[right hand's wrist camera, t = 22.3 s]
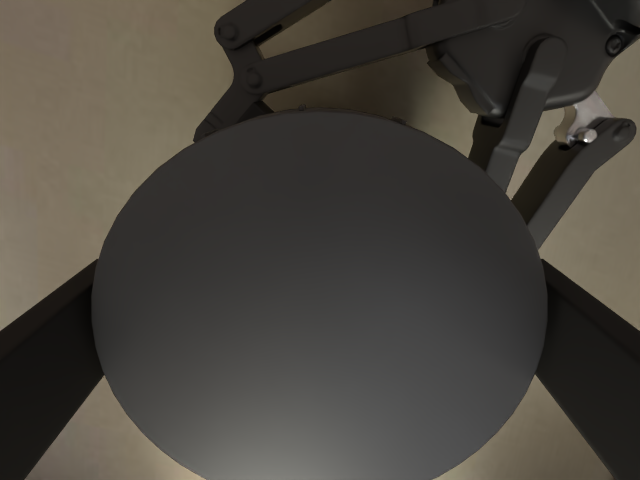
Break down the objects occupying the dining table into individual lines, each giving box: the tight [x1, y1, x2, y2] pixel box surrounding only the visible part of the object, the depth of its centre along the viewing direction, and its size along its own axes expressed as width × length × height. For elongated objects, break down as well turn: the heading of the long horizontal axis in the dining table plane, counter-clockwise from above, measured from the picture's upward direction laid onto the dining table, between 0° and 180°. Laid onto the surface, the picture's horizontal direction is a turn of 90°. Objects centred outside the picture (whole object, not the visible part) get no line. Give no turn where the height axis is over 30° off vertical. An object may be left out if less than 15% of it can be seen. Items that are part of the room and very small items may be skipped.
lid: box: [91, 105, 548, 480], centre depth 11 cm, size 12×12×2 cm
